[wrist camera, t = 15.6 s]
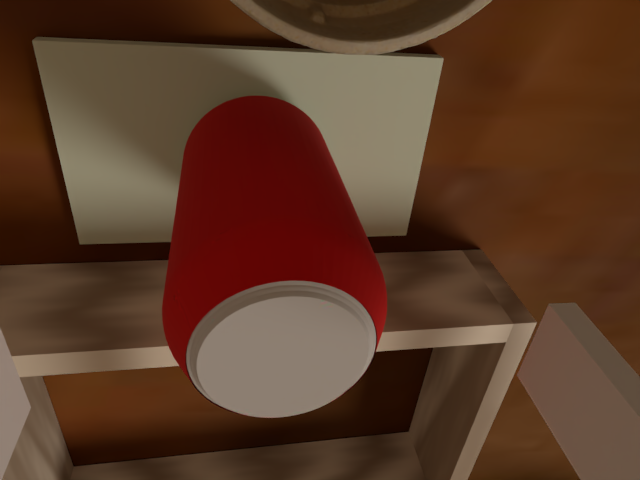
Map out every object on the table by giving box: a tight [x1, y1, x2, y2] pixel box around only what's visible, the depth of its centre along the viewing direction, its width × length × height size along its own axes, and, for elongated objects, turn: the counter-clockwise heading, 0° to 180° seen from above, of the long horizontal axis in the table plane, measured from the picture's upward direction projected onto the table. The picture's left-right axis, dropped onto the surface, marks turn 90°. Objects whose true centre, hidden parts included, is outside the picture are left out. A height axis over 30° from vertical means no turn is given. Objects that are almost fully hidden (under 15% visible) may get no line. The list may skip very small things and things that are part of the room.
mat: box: [32, 37, 444, 244], centre depth 22 cm, size 16×9×1 cm, turn 85°
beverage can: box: [162, 96, 387, 418], centre depth 17 cm, size 6×6×12 cm
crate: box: [0, 249, 537, 480], centre depth 28 cm, size 26×18×6 cm
